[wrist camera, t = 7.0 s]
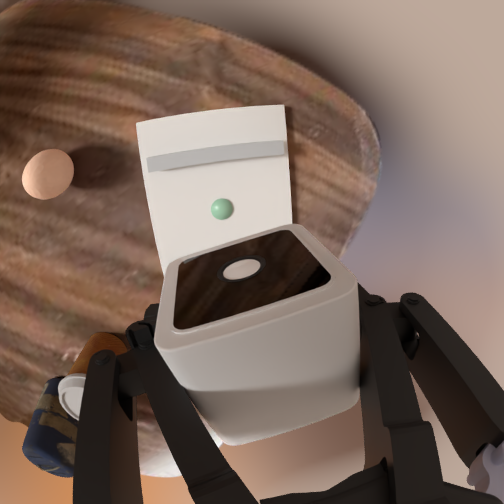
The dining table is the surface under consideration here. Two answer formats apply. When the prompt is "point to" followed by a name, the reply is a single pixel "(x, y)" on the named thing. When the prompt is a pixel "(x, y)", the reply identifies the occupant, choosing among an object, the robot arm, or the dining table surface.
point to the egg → (48, 174)
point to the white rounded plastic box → (262, 333)
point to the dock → (215, 177)
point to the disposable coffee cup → (85, 371)
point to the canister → (51, 434)
